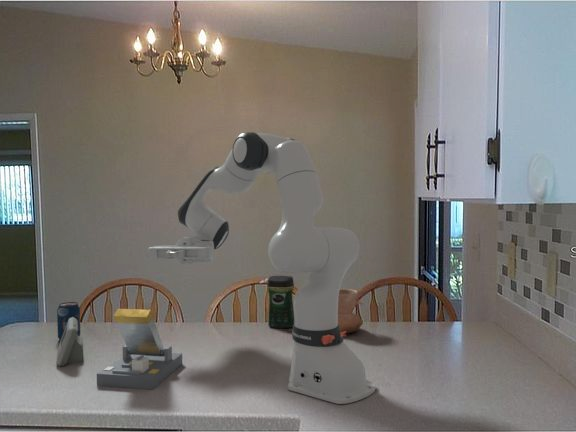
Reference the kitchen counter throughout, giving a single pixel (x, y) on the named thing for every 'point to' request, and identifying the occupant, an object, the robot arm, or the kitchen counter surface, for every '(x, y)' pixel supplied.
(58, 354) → the digital clock
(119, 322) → the lever
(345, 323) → the ceramic jug
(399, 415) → the kitchen counter surface
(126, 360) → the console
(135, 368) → the slide switch
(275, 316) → the coffee jar
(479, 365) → the kitchen counter surface
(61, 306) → the soda can
